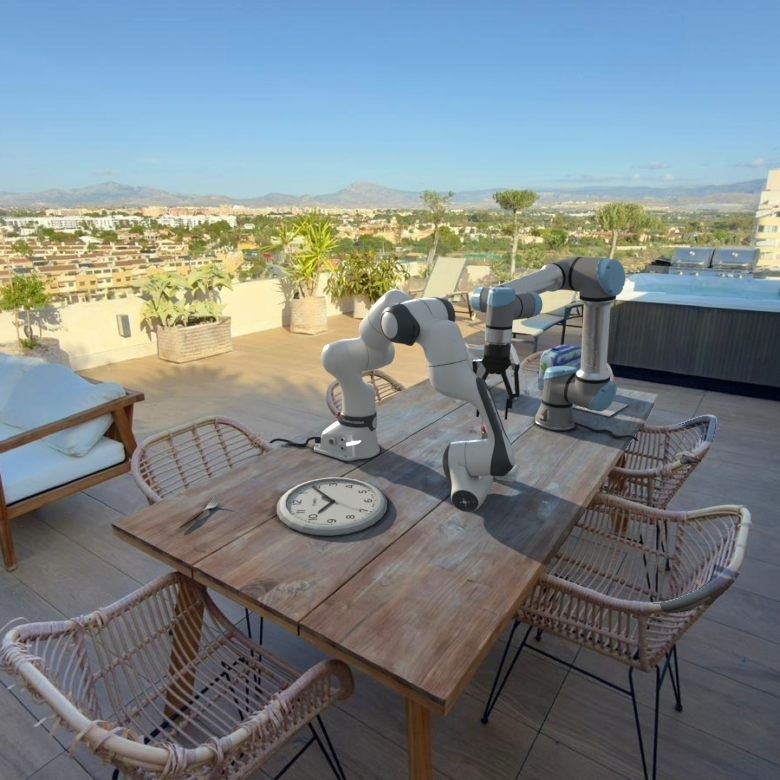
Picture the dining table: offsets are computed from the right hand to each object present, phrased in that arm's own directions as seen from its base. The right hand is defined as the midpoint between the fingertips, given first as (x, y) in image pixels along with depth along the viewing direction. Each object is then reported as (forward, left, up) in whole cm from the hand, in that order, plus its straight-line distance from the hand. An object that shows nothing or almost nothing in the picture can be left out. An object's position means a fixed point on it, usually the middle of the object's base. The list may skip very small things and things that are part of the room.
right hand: (491, 416), depth 157 cm
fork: (+76, +36, -19) cm, 86 cm away
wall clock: (+43, +26, -19) cm, 54 cm away
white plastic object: (-1, -85, -19) cm, 87 cm away
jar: (0, 0, -19) cm, 19 cm away
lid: (0, 0, -3) cm, 3 cm away
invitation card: (-53, -73, -19) cm, 92 cm away
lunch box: (-39, -96, -19) cm, 105 cm away
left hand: (0, +1, -13) cm, 13 cm away
